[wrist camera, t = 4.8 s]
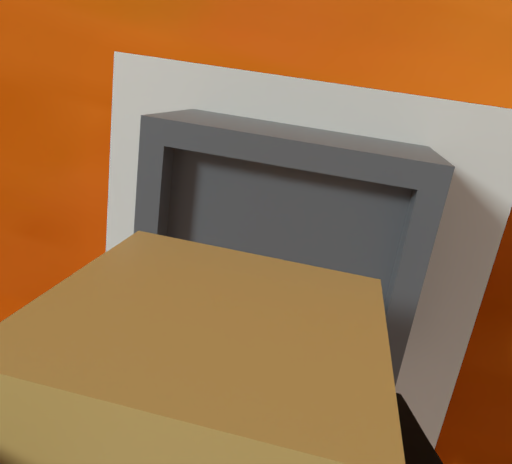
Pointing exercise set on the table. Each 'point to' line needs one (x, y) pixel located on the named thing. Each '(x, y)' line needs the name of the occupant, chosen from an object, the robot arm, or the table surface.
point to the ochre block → (199, 363)
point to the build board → (364, 124)
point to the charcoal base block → (297, 199)
